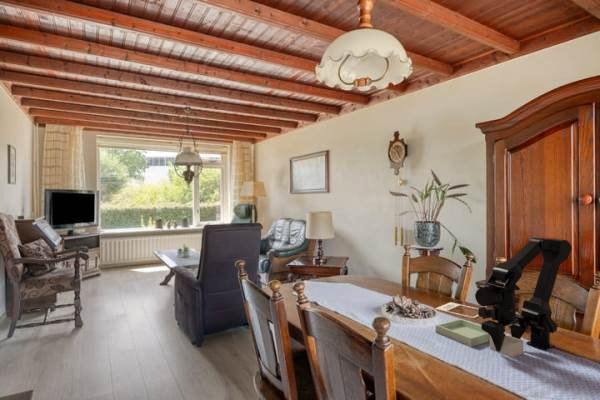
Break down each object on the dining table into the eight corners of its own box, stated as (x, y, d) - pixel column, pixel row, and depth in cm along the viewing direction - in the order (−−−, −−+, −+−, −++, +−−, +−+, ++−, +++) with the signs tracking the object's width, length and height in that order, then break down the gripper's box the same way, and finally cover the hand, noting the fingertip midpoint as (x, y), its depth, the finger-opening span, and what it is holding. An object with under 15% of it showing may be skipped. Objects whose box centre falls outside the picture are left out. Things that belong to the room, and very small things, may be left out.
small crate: (500, 345, 124) (500, 332, 124) (523, 353, 117) (523, 340, 117) (490, 348, 121) (489, 336, 121) (513, 357, 114) (512, 344, 114)
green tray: (460, 325, 144) (460, 318, 144) (496, 338, 130) (496, 330, 130) (435, 332, 137) (435, 325, 137) (471, 347, 123) (471, 338, 123)
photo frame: (450, 301, 175) (487, 310, 161) (450, 304, 175) (487, 312, 161) (435, 307, 166) (473, 317, 152) (435, 310, 166) (473, 319, 152)
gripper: (499, 293, 131) (500, 335, 131) (466, 301, 122) (467, 345, 122) (530, 301, 121) (531, 346, 121) (497, 309, 112) (498, 358, 112)
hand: (506, 348), depth 119 cm, fingers open, 9 cm apart
